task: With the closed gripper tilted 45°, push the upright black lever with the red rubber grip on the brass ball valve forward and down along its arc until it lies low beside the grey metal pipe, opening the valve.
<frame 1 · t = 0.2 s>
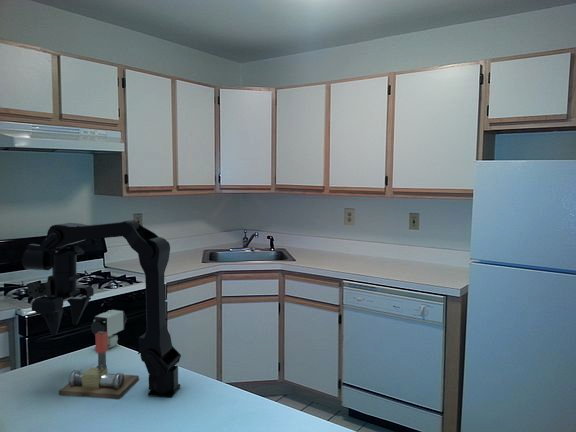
hand: (64, 329, 119), 15 cm above the counter, tool pointing down, fingers open, 9 cm apart
pneumatic valve: (108, 346, 147), on the counter
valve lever: (101, 352, 119), point 9 cm above the counter, hinge at 0.0°
mounting board: (102, 383, 120), on the counter
valve body: (96, 379, 116), point 3 cm above the counter
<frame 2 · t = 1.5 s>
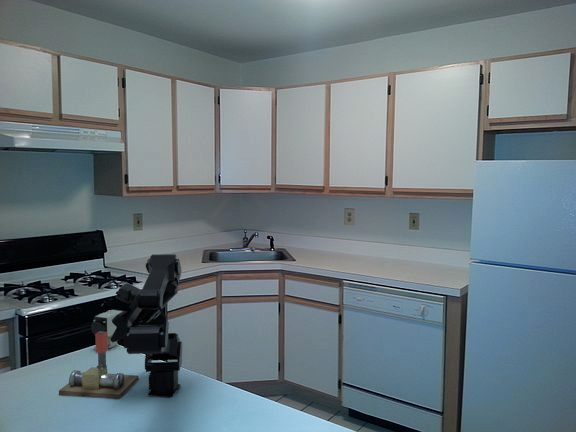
hand: (117, 336, 119), 13 cm above the counter, tool tilted 45°, fingers open, 6 cm apart
nothing on the counter moved.
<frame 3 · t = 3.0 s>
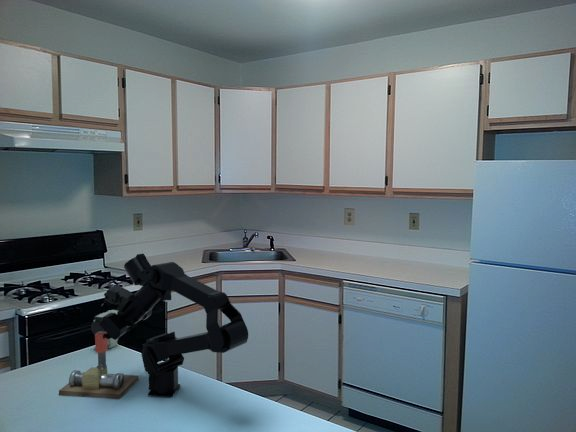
hand: (106, 337, 120), 12 cm above the counter, tool tilted 45°, fingers closed, pressing on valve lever
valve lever: (101, 352, 119), point 9 cm above the counter, hinge at 0.6°, touching gripper
everything else where it was.
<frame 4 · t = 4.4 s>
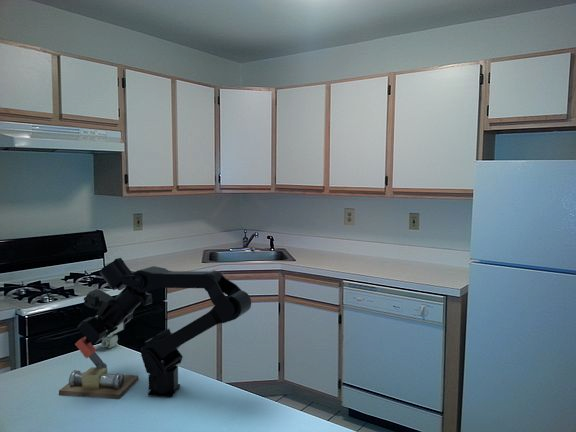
hand: (87, 341, 120), 11 cm above the counter, tool tilted 45°, fingers closed, pressing on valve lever
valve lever: (92, 355, 120), point 8 cm above the counter, hinge at 40.6°, touching gripper
everything else where it was.
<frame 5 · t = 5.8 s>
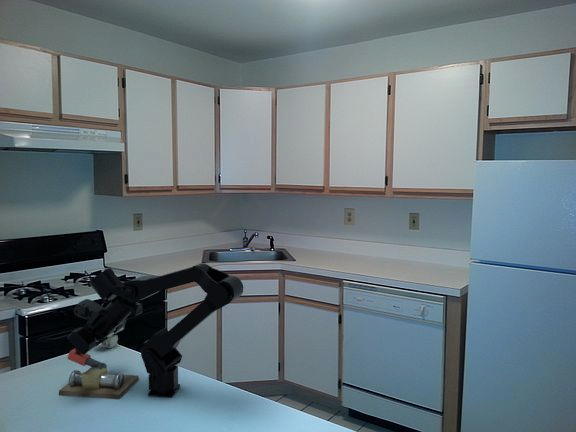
hand: (77, 351, 120), 8 cm above the counter, tool tilted 45°, fingers closed, pressing on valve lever
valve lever: (88, 361, 120), point 6 cm above the counter, hinge at 69.5°, touching gripper
everything else where it was.
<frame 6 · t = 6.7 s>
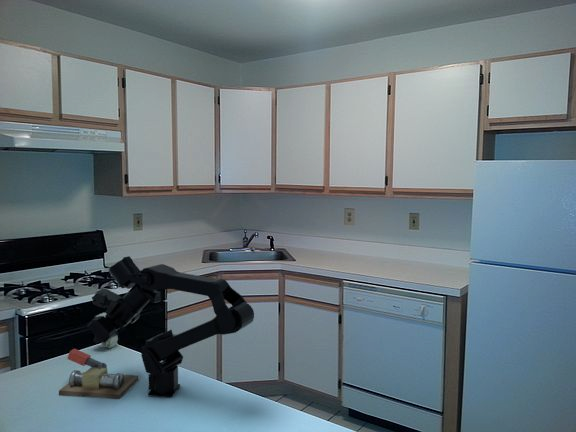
hand: (95, 341, 119), 12 cm above the counter, tool tilted 45°, fingers closed
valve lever: (88, 361, 120), point 6 cm above the counter, hinge at 69.6°
everything else where it was.
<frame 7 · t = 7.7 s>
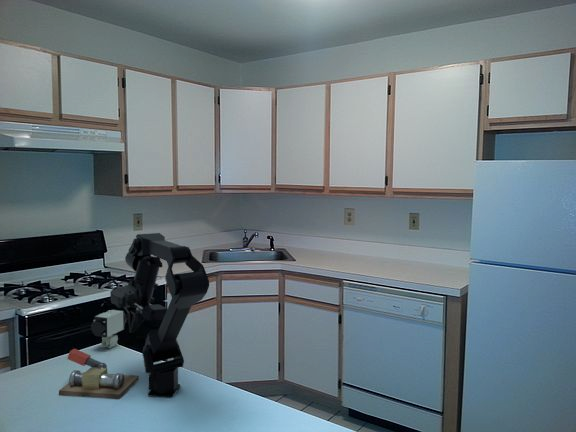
hand: (131, 332, 123), 13 cm above the counter, tool pointing down, fingers closed
nothing on the counter moved.
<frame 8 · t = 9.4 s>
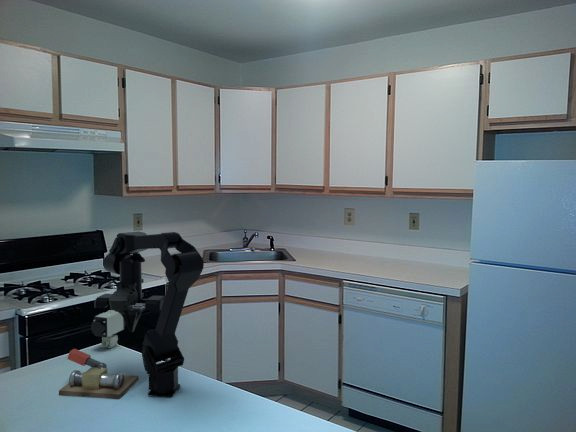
hand: (131, 332, 126), 12 cm above the counter, tool pointing down, fingers closed
nothing on the counter moved.
at the end: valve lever at +70° (first picture: +0°) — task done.
